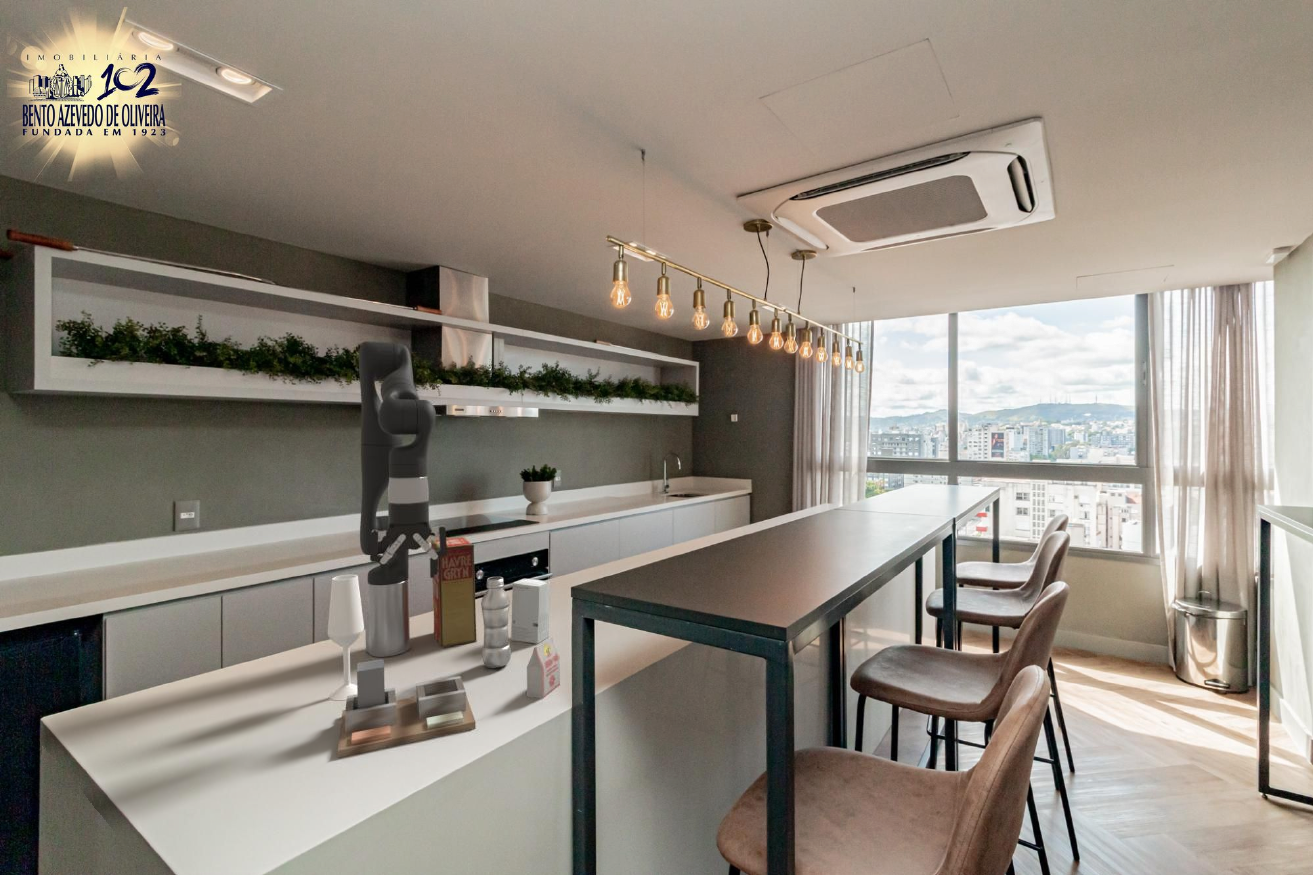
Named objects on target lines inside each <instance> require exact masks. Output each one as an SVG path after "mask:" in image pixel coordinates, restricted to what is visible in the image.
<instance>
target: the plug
mask: <svg viewBox="0 0 1313 875" xmlns="http://www.w3.org/2000/svg"><path fill="white" fill-rule="evenodd" d="M356 681H357V682H356V683H357V684H356V685H357V696H358V709H363V708H368V707H373V706H379V705H384V704H385V689H386V688H385V686H386V685H385V662H384V658H381V659H376V660H375V659H373V660H369V661H367V660H366V661H363V662H357V664H356Z"/></svg>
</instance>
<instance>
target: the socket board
mask: <svg viewBox="0 0 1313 875" xmlns="http://www.w3.org/2000/svg"><path fill="white" fill-rule="evenodd" d="M415 685H416V689H415V690H416V691H415V692H416V695H415V696H414V697H413V696H412V697H408V698H401V699H397V696H396V687H391V688H390V687H389V688H385V704H384V705H379V706H373V707H368V708H363V709H358V696H357V694H356V695H350V696H347V700H345V709H343V710H341V711H342V712H341V720H340V728H339V729H340V731H339V736H338V746H337V747H338V748H337V758H338V759H339V758H343V757H348V756H354V755H358V754H364V753H366V752H367V753H368V752H371V751H377V750H382V749H385V748H391V747H395V746H400V745H404V744H405V745H406V744H408V743H414V742H418V741H424V740H427V739H432V738H437V737H443V736H447V735H450V734H455V733H460V732H465V731H471V730H474V729H476V720H475V716H474V714H473V710H472V708H471V705H470V702H469V700H468V697H467V692H466V688H465V686H464V683H463V680H462V677H461V675H459V676H452V677H448V678H440V679H435V680H429V681H424V682H419V683H415Z"/></svg>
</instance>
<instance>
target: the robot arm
mask: <svg viewBox="0 0 1313 875" xmlns="http://www.w3.org/2000/svg"><path fill="white" fill-rule="evenodd" d="M358 352H359V353H358V367H359V368H358V371H359V372H358V373H359V384H360V385H359V386H360V403H361V426H360V427H361V432H360V467H361V510H360V521H359V522H360V523H359V524H360V525H359V544H360V548H361V549H360V551H361V552H362V554H364V555H365V556H369V560H370V562H373V563H374V562H375V563H378V564H379V565H377V566H375V567H373V568H371V569H370V570H369V571H368V573H367V610H368V611H367V612H366V613H365V615H364V618H365V620H364V622H365V623H364V630H365V632H364V633H365V653H368V654H369V655H370V656H371V657H377V658H378V657H379V658H380V657H381V658H382V657H383V658H385V657H392V656H397V655H400V654H402V653H405V652H407V651H408V650H409V649H410V647H411V643H410V642H411V641H410V640H411V639H410V638H411V636H410V635H411V634H410V623H411V622H410V587H409V586H410V582H409V581H410V580H409V579H410V578H409V576H410V575H409V565H410V564H409V562H410V561H409V553H410V551H409V550H413V551H415V550H419V549H420V548H422V549H423V550H424V551H425V553H426V554H428V556H429V557H430V558H429V576H430V577H429V578H431V579H432V578H434V575H437V573H438V558H439V557H441V556H445V555H447V542H446V539H447V534H446V533H447V531H446V527H445V525H444V524H440V525H438V526H432V527H431V525H430V509H429V505H430V503H429V502H430V501H429V499H430V498H429V496H430V492H429V491H430V490H429V483H428V450H429V445H430V441H431V436H432V434H433V431H434V428H435V423H436V418H437V414H436V413H437V412H436V409H435V406H434V405H433V403H432V402H430V401H429V400H427V399H420V397H419V393H418V391H417V388H416V386H415V384H414V373H413V371H414V370H413V364H412V357H411V353H410V350H409V348H408V347H407V346H406V345H404V344H402V343H398V342H397V343H396V342H384V341H363V342H362V343H361V344H360V346H359V351H358ZM376 382H382V383H381V385H380V397H381V398H380V397H379V394H378V392H377V387H376V384H375V383H376ZM381 400H382V401H381ZM403 435H409V436H411V435H415V436H416V437H415V439H414V440H413V441H412V442H411V443H410V444H406V445H404V442H403V440H404V438H403ZM386 490H387V500H388V501H387V504H388V506H387V508H388V510H387V511H388V512H387V513H388V514H387V515H379V516H377V512H378V507H379V504H380V503H381V500H382V498H383V496H384V493H385V491H386ZM432 533H433V534H434V535H435V537H436V538H438V540H439V542H440V549H439V550H437V551H435V550H434V549H433V548H432V547H431V543H429V542H428V541H427V540H428V538H429V537H430V536H431V535H432Z"/></svg>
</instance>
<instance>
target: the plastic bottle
mask: <svg viewBox="0 0 1313 875" xmlns="http://www.w3.org/2000/svg"><path fill="white" fill-rule="evenodd" d="M504 586H505V583H504V577H502V576H491V577H488V578H487V579H486V589H487V590H486V592H485V593H484V595H483V597H482V599H481V602H480V606H481V612H482V613H481V614H482V618H483V619H482V620H483V634H484V636H483V647H482V649H481V650H482V651H481V658H482V663H483V665H484V666H485V667H486V668H489V669H491V668H492V669H493V668H494V669H497V668H501V667H504V666H506V665H509V662H510V661H511V656H512V651H511V650H512V649H511V644H510V637H509V612H510V604H511V602H510V601H511V599H510V597H509V595H508V593H507V592H506V591H505V589H504Z"/></svg>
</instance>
